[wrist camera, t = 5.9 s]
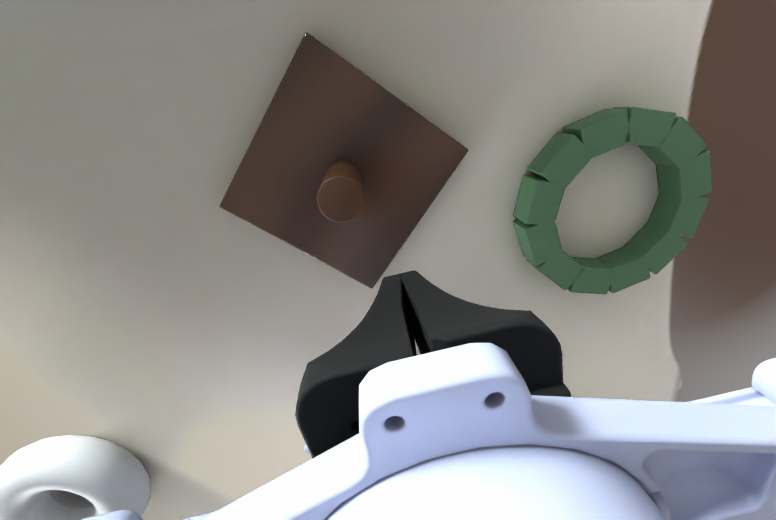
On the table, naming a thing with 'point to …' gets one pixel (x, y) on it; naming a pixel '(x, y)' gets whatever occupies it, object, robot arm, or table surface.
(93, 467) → the donut
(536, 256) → the ring
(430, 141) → the post
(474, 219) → the table surface
